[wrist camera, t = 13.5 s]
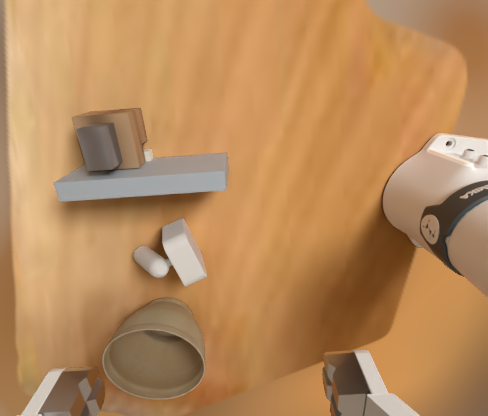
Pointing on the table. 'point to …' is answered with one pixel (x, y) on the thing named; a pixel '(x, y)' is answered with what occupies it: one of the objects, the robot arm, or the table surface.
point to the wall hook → (174, 255)
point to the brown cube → (111, 139)
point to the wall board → (147, 178)
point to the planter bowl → (157, 352)
